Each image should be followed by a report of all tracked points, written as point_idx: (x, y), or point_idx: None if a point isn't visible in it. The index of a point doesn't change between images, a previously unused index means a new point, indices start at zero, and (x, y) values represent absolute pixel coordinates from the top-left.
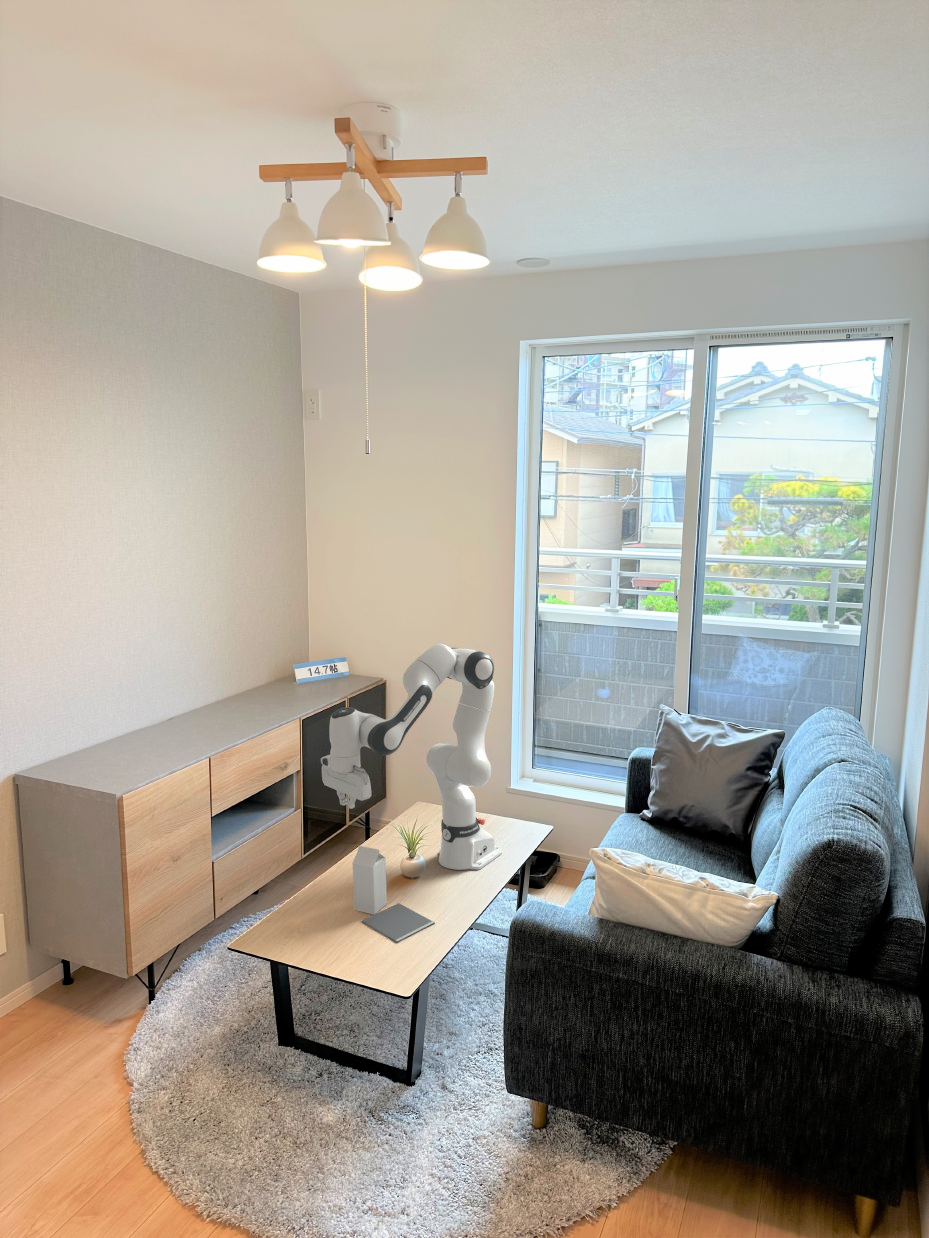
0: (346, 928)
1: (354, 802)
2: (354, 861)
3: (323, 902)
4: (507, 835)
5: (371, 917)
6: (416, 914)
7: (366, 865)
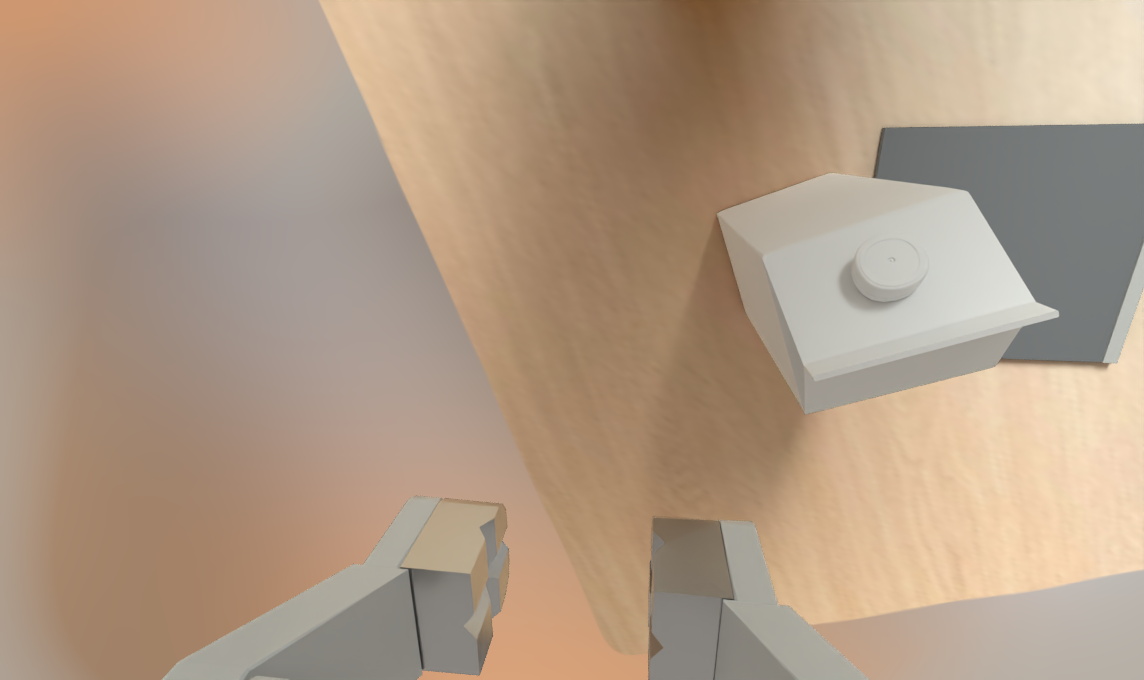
0: (829, 419)
1: (771, 597)
2: (816, 407)
3: (589, 356)
4: None
5: None
6: (1050, 138)
7: (928, 380)
